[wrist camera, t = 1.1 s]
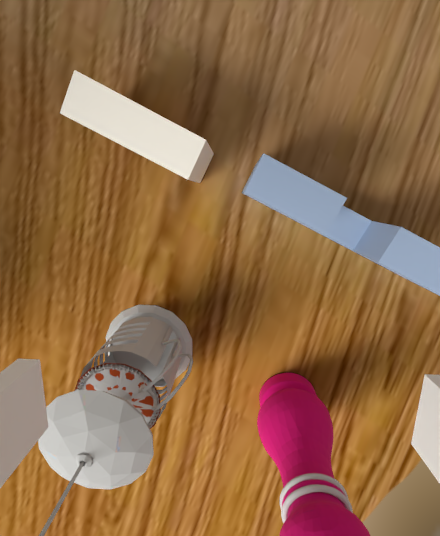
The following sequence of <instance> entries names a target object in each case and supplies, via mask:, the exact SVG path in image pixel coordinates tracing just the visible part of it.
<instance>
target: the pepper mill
mask: <svg viewBox="0 0 440 536" xmlns="http://www.w3.org/2000/svg"><path fill="white" fill-rule="evenodd" d="M259 400H260V411H259V414H258V421H257V425H258V431H259V436H260V439H261V441H262V443H263V446H264V448H265V450H266V451H267V453H268V454H269V455H270V457H271V458H272V459H273V461H274V462H275V463H276V465H277V467H278V469H279V471H280V474H281V478H282V482H283V490H282V492H281V495H280V507H281V516H282V521H283V523H284V524H283V526H282V529H281V531H280V536H370V534H369V532H368V530H367V529H366V527H365V526H364V525H363V523H362V522H361V521H360V520H359V519H358V517H357V516H356V515H355V514H353V511H352V507H351V504H350V502H349V500H348V496H347V493H346V491H345V489H344V487H343V486H342V485H341V484H340V483H339V482H338V481H337V480H335V478H334V476H333V472H332V468H331V452H332V445H333V426H332V421H331V418H330V415H329V412H328V410H327V408H326V406H325V405H324V403H323V402H322V401H321V400H320V399H319V398H318V397H317V395H316V393H315V390H314V388H313V386H312V384H311V383H310V382H309V381H308V380H307V379H306V378H304V377H303V376H301V375H298V374H295V373H281V374H277V375H275V376H273V377H271V378H270V379H268V380H267V381H266V382H265V383H264V385H263V386H262V388H261V391H260V395H259Z"/></svg>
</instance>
